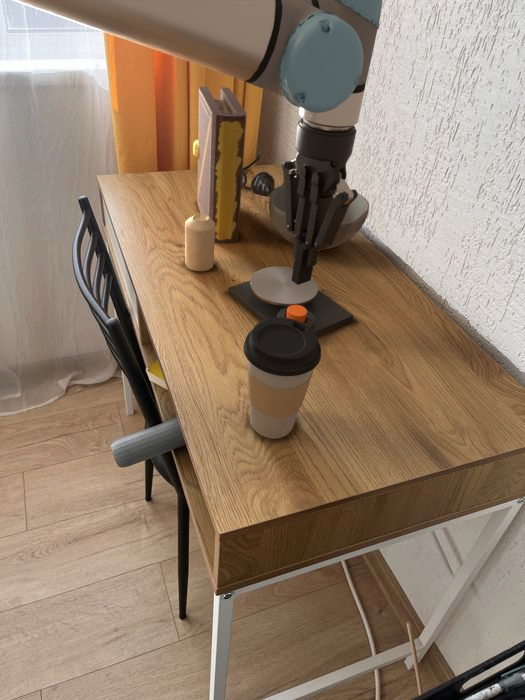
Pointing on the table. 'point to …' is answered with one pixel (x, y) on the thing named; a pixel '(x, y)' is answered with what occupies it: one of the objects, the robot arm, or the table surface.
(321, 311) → the scale
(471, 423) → the table surface
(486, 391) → the table surface
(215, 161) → the book
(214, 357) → the table surface
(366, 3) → the robot arm
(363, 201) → the bowl
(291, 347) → the coffee cup
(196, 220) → the candle
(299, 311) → the tare button
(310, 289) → the scale pan
